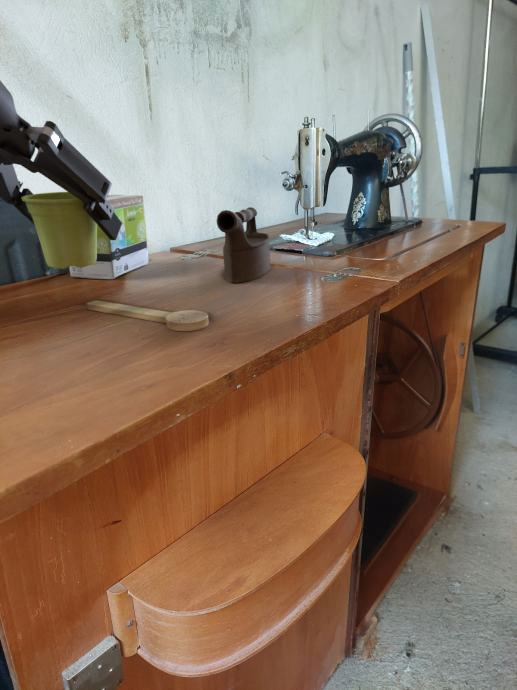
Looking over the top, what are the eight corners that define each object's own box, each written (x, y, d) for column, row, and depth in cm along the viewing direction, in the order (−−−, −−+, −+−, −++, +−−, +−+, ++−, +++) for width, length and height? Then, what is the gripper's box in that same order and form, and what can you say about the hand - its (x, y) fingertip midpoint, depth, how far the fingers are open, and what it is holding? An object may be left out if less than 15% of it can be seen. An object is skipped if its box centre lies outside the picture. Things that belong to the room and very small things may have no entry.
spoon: (77, 312, 80) (76, 305, 80) (105, 302, 85) (104, 295, 85) (192, 333, 70) (191, 325, 70) (216, 321, 75) (216, 313, 74)
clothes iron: (206, 286, 93) (202, 210, 89) (235, 266, 108) (232, 200, 103) (248, 288, 91) (246, 210, 86) (272, 268, 106) (270, 200, 101)
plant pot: (125, 259, 69) (117, 192, 66) (74, 275, 61) (63, 200, 58) (71, 254, 73) (61, 190, 70) (17, 269, 65) (3, 197, 62)
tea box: (115, 280, 99) (105, 200, 94) (69, 278, 102) (57, 200, 96) (150, 263, 113) (143, 193, 107) (109, 262, 115) (100, 193, 110)
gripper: (-148, 120, 51) (6, 249, 70) (33, 112, 44) (148, 258, 63) (-111, 65, 53) (27, 205, 73) (65, 49, 46) (165, 209, 66)
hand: (83, 230), depth 68 cm, fingers closed on plant pot, 9 cm apart
